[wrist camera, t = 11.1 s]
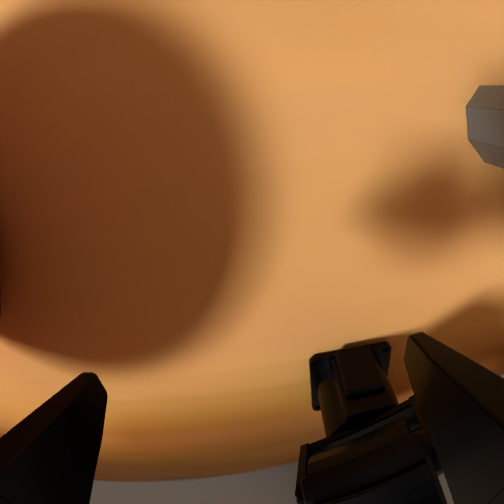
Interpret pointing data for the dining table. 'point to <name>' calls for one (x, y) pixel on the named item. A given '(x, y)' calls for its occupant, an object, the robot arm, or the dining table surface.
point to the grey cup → (487, 123)
